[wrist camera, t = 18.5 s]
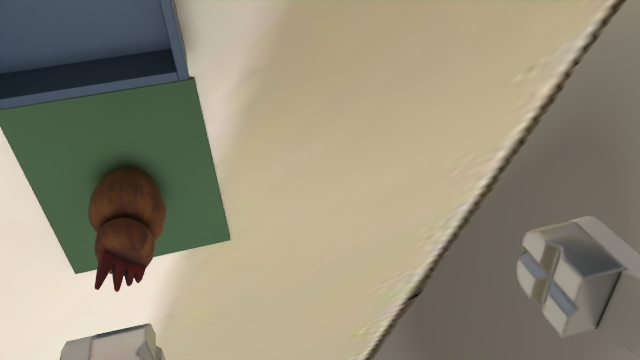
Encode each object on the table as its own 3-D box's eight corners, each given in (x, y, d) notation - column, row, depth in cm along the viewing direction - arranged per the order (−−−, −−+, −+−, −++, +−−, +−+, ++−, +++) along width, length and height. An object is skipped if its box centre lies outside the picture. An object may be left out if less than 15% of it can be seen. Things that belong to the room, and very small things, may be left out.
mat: (193, 76, 45) (193, 79, 44) (229, 236, 57) (230, 240, 56) (-6, 108, 42) (-8, 111, 41) (76, 270, 54) (75, 274, 53)
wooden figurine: (81, 176, 47) (55, 290, 35) (132, 146, 47) (123, 252, 35) (127, 220, 51) (117, 335, 39) (175, 193, 51) (179, 302, 39)
